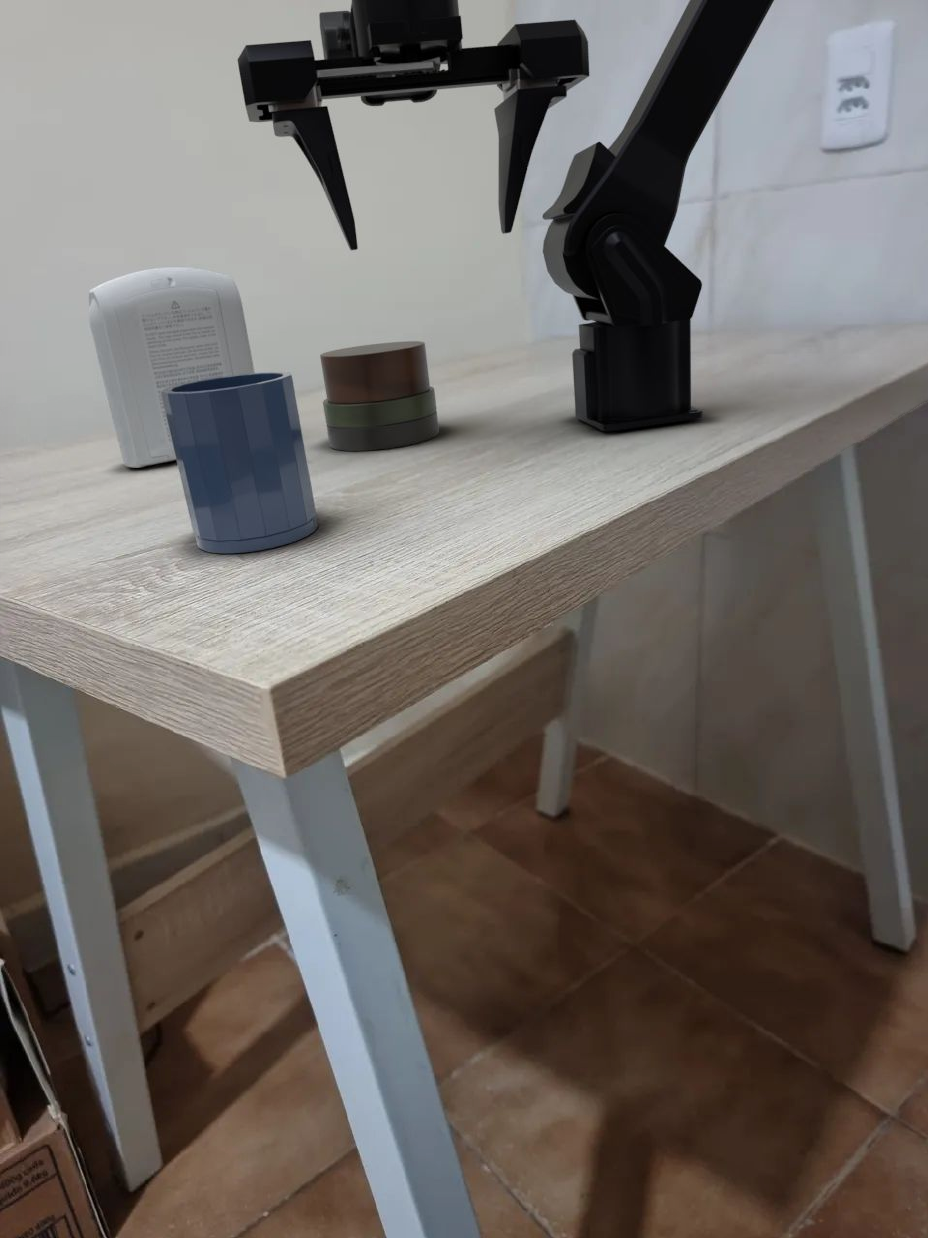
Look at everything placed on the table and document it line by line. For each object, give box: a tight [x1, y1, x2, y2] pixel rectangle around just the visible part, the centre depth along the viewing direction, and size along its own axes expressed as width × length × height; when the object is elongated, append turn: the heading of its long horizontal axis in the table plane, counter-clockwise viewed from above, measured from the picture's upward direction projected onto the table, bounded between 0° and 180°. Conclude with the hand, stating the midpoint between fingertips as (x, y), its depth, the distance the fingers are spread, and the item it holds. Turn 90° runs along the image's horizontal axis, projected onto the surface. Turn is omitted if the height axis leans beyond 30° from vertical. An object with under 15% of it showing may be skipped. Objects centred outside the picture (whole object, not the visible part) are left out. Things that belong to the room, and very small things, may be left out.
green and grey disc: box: [322, 385, 440, 452], centre depth 60 cm, size 8×8×3 cm
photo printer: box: [88, 266, 255, 469], centre depth 60 cm, size 10×4×12 cm, turn 123°
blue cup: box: [161, 371, 319, 554], centre depth 40 cm, size 6×6×7 cm
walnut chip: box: [319, 340, 431, 404], centre depth 59 cm, size 7×7×3 cm
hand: (431, 241), depth 52 cm, fingers open, 9 cm apart
